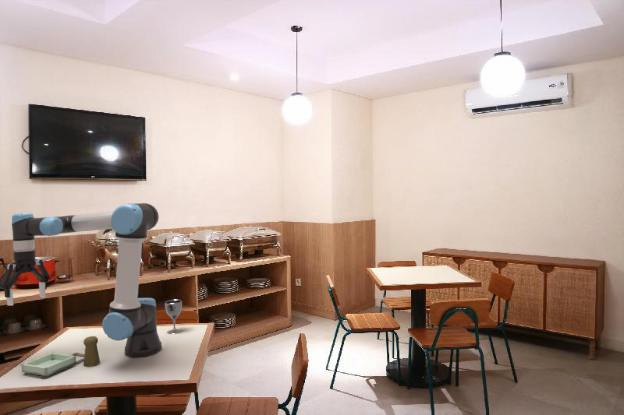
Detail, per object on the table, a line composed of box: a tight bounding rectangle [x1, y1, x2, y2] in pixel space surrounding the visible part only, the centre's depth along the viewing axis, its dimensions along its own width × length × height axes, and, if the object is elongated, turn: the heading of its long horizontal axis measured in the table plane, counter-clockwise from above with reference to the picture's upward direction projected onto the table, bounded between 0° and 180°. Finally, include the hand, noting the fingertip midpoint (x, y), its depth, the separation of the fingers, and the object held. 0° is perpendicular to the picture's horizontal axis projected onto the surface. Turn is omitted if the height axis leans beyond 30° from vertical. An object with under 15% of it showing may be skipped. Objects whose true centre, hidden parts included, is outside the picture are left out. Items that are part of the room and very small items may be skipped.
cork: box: [83, 335, 101, 368], centre depth 177 cm, size 6×6×11 cm
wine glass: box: [164, 299, 183, 335], centre depth 217 cm, size 8×8×15 cm
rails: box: [23, 352, 85, 379], centre depth 176 cm, size 11×23×1 cm, turn 159°
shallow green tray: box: [21, 352, 77, 377], centre depth 171 cm, size 13×13×3 cm
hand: (27, 301), depth 182 cm, fingers open, 13 cm apart
